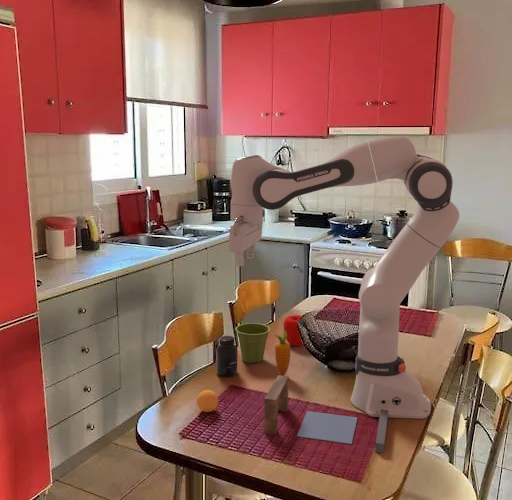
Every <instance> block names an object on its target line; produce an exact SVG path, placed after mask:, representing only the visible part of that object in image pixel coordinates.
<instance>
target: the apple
mask: <svg viewBox="0 0 512 500" xmlns="http://www.w3.org/2000/svg"><path fill="white" fill-rule="evenodd" d="M302 316H303V315H300V314H296V315H295V314H294V315H288V316H286V317H285V318H284V320H283V325H282V326H283V332H284V331H286V335H287V337H286V340H285V341H286V342H287V343H289V345H290V346H292V347H299V346H301V345H303V343H302V341H301V338H300V335H299V332H298V328H297V322H298V320H299V319H300V318H301V317H302Z"/></svg>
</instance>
